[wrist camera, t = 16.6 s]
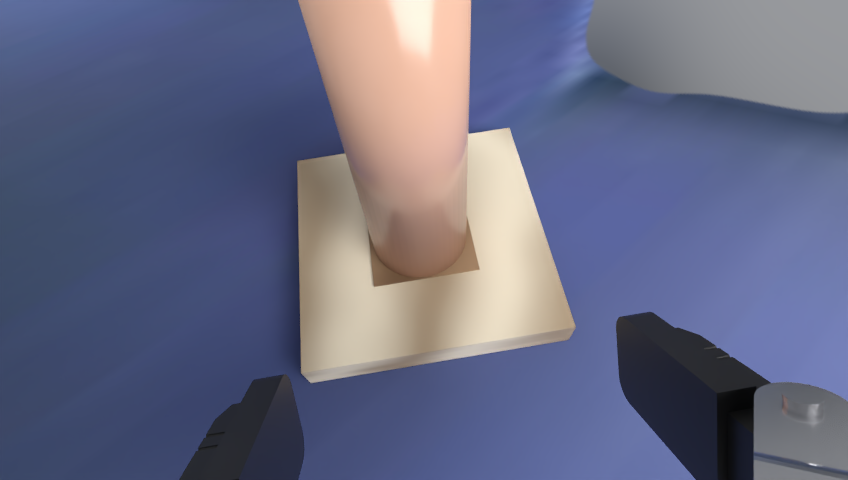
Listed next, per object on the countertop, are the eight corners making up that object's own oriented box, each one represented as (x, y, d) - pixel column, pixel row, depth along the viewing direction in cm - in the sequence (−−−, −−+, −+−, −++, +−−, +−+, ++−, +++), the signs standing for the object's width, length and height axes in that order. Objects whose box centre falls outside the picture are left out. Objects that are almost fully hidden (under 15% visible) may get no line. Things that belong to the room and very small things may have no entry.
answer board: (310, 382, 22) (300, 372, 21) (305, 178, 28) (296, 159, 27) (568, 339, 22) (576, 326, 21) (506, 147, 29) (509, 126, 27)
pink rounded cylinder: (378, 284, 23) (269, -39, 10) (368, 205, 25) (271, -139, 12) (475, 268, 23) (493, -72, 10) (456, 190, 25) (452, -166, 12)
